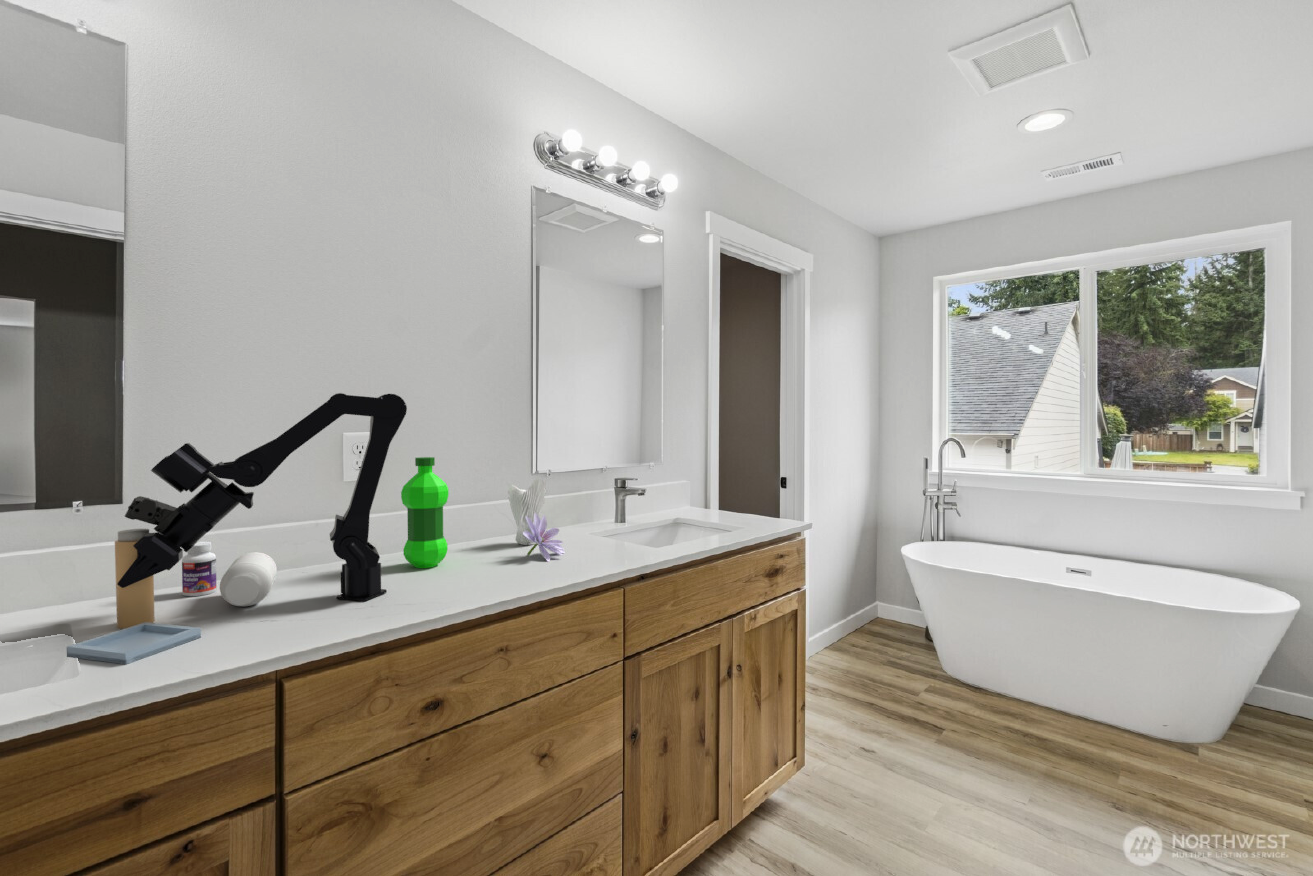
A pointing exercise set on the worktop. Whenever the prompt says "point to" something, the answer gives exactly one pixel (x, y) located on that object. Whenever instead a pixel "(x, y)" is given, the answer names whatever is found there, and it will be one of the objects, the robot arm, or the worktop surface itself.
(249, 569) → the pill bottle
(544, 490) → the shell sculpture
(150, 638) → the tray
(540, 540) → the water lily
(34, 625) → the worktop surface
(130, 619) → the cylinder
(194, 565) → the pill bottle
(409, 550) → the plastic bottle
